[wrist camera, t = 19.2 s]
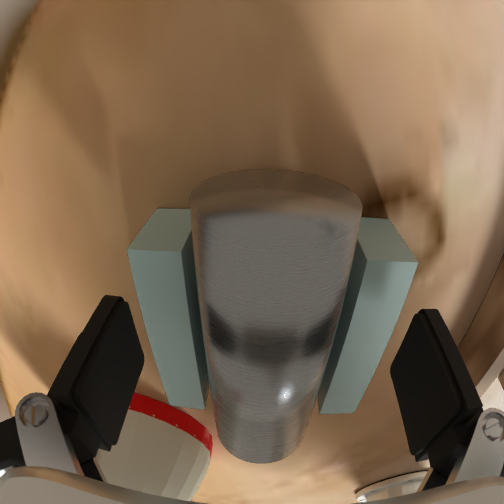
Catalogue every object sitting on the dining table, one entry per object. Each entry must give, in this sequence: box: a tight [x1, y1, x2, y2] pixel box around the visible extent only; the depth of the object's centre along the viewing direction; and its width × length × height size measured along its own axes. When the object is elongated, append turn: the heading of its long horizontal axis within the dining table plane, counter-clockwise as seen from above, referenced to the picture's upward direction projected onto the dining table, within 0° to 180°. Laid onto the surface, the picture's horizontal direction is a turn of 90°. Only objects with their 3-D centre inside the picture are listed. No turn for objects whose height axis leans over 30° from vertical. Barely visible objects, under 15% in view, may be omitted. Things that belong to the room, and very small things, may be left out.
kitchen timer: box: [96, 393, 213, 501], centre depth 19 cm, size 14×14×15 cm
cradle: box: [127, 208, 418, 414], centre depth 14 cm, size 10×10×4 cm
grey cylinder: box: [189, 169, 363, 463], centre depth 12 cm, size 13×5×5 cm, turn 179°
